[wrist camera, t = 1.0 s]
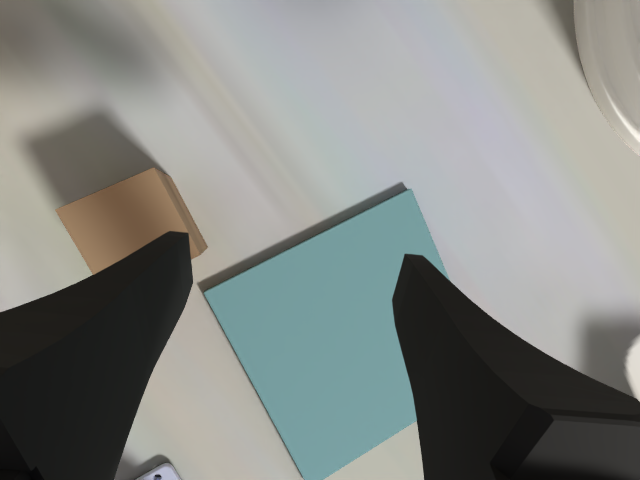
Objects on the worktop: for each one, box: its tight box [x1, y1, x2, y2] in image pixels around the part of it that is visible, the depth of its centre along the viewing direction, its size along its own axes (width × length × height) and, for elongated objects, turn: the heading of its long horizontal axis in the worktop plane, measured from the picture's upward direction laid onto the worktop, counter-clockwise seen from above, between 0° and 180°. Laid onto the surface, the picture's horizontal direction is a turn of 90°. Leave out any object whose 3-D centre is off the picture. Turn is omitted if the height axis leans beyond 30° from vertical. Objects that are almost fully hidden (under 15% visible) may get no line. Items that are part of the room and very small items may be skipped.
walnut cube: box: [55, 168, 208, 275], centre depth 21 cm, size 5×5×5 cm
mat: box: [204, 189, 450, 480], centre depth 26 cm, size 16×16×1 cm
